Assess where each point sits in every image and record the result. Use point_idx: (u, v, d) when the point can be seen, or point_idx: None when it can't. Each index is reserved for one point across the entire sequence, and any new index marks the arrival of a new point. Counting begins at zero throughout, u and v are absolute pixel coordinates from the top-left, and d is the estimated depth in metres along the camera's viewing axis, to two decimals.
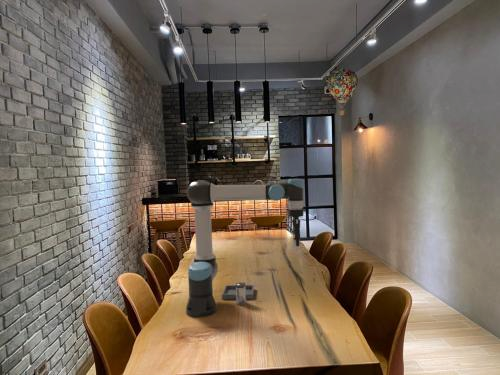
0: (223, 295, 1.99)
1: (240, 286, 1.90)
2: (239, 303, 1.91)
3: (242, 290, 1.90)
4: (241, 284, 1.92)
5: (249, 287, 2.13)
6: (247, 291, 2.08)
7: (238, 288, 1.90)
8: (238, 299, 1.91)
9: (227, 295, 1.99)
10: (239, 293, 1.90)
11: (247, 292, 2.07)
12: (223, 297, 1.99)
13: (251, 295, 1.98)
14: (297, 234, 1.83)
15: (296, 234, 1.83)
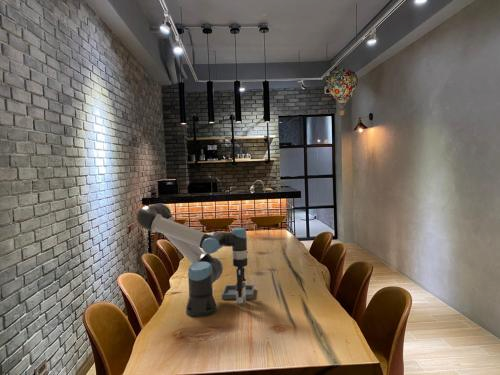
0: (223, 295, 1.99)
1: None
2: (239, 303, 1.91)
3: None
4: None
5: (249, 287, 2.13)
6: (247, 291, 2.08)
7: None
8: None
9: (227, 295, 1.99)
10: None
11: (247, 292, 2.07)
12: (223, 297, 1.99)
13: (251, 295, 1.98)
14: (239, 285, 1.83)
15: (238, 285, 1.83)
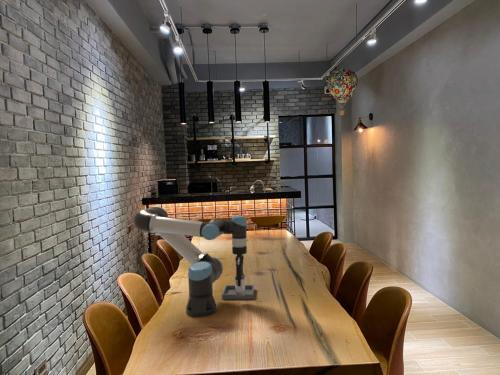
0: (223, 295, 1.99)
1: None
2: (238, 294, 1.90)
3: None
4: None
5: (249, 287, 2.13)
6: (247, 291, 2.08)
7: None
8: None
9: (227, 295, 1.99)
10: None
11: (247, 292, 2.07)
12: (223, 297, 1.99)
13: (251, 295, 1.98)
14: (238, 275, 1.86)
15: (237, 275, 1.86)
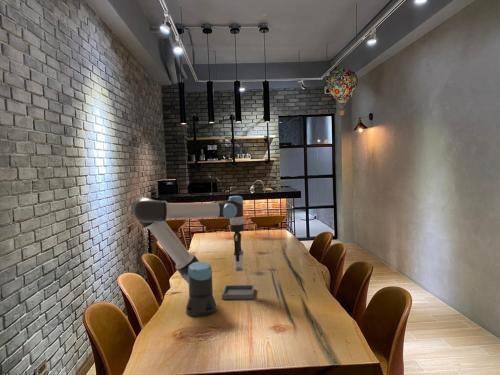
0: (223, 295, 1.99)
1: None
2: (237, 269, 2.04)
3: (240, 257, 2.03)
4: None
5: (249, 287, 2.13)
6: (247, 291, 2.08)
7: None
8: None
9: (227, 295, 1.99)
10: None
11: (247, 292, 2.07)
12: (223, 297, 1.99)
13: (251, 295, 1.98)
14: (236, 251, 1.99)
15: (235, 251, 1.99)
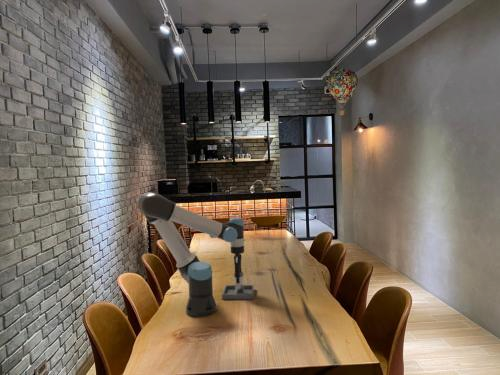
0: (223, 295, 1.99)
1: None
2: (237, 291, 2.04)
3: None
4: None
5: (249, 287, 2.13)
6: (247, 291, 2.08)
7: None
8: None
9: (227, 295, 1.99)
10: None
11: (247, 292, 2.07)
12: (223, 297, 1.99)
13: (251, 295, 1.98)
14: (237, 273, 2.00)
15: (236, 273, 2.00)
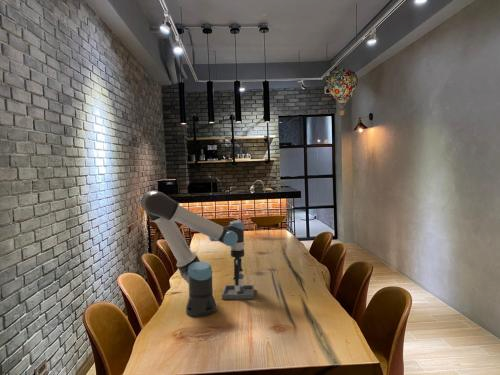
0: (223, 295, 1.99)
1: None
2: (237, 293, 2.04)
3: (240, 281, 2.04)
4: (239, 275, 2.05)
5: (249, 287, 2.13)
6: (247, 291, 2.08)
7: None
8: None
9: (227, 295, 1.99)
10: None
11: (247, 292, 2.07)
12: (223, 297, 1.99)
13: (251, 295, 1.98)
14: (236, 275, 1.97)
15: (235, 275, 1.97)
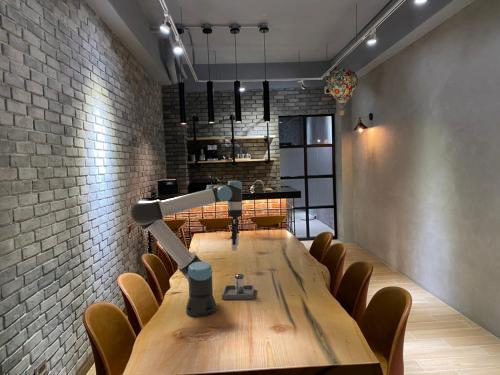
0: (223, 295, 1.99)
1: (239, 277, 2.04)
2: (237, 293, 2.04)
3: (240, 281, 2.04)
4: (240, 275, 2.05)
5: (249, 287, 2.13)
6: (247, 291, 2.08)
7: (237, 279, 2.04)
8: (237, 289, 2.04)
9: (227, 295, 1.99)
10: (238, 283, 2.04)
11: (247, 292, 2.07)
12: (223, 297, 1.99)
13: (251, 295, 1.98)
14: (233, 233, 1.92)
15: (232, 233, 1.93)
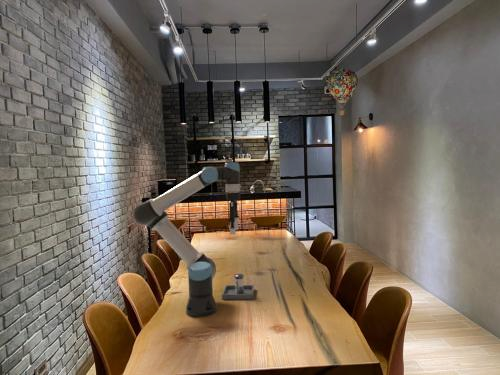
0: (223, 295, 1.99)
1: (238, 277, 2.03)
2: (237, 293, 2.04)
3: (240, 281, 2.04)
4: (239, 275, 2.05)
5: (249, 287, 2.13)
6: (247, 291, 2.08)
7: (236, 279, 2.04)
8: (236, 289, 2.04)
9: (227, 295, 1.99)
10: (237, 284, 2.04)
11: (247, 292, 2.07)
12: (223, 297, 1.99)
13: (251, 295, 1.98)
14: (231, 216, 1.85)
15: (230, 216, 1.85)
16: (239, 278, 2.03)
